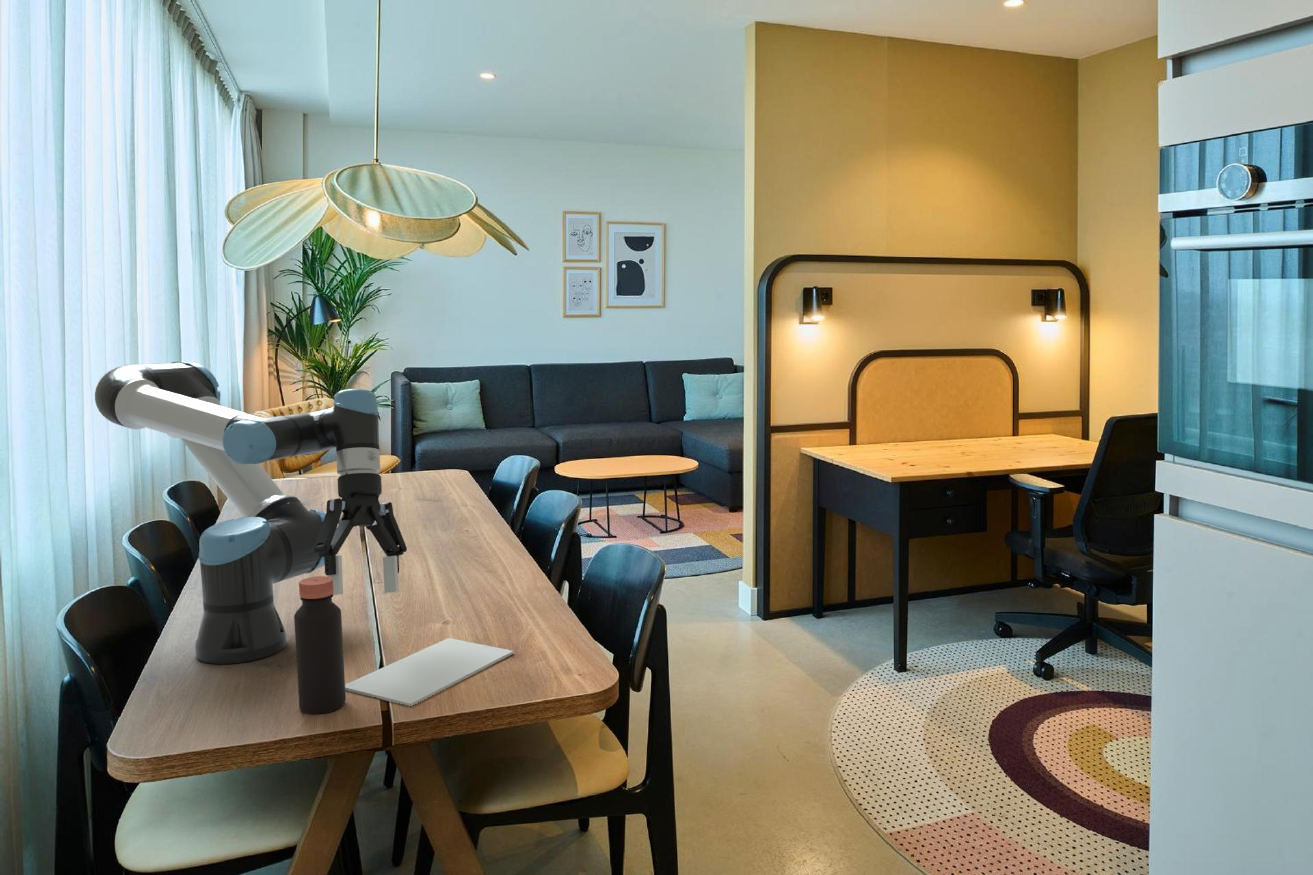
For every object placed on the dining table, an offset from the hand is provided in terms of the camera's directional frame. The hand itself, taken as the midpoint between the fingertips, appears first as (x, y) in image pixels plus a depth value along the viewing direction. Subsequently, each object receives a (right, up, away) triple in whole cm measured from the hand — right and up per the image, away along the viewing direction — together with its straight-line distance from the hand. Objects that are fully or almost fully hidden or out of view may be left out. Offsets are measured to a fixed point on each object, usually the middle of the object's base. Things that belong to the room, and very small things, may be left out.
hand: (364, 593), depth 163 cm
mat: (+13, -12, -5) cm, 19 cm away
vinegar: (0, -14, -19) cm, 24 cm away
